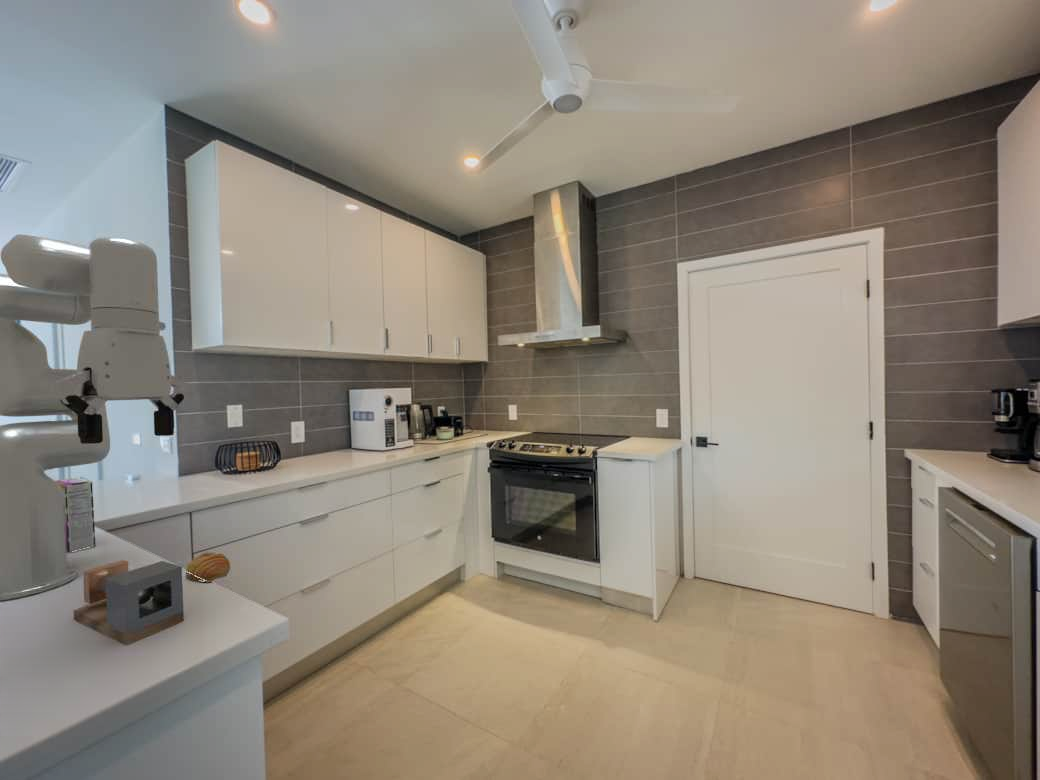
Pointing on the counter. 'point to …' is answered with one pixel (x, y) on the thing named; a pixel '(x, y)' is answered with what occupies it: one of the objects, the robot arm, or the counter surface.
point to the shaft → (97, 582)
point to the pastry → (208, 567)
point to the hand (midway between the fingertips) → (130, 439)
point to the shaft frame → (137, 603)
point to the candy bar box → (78, 513)
